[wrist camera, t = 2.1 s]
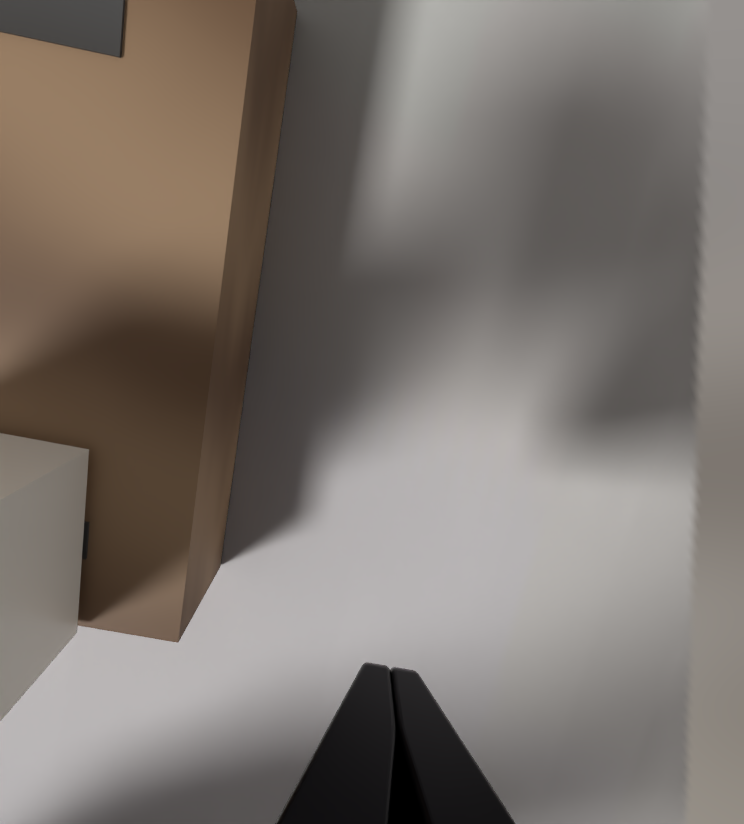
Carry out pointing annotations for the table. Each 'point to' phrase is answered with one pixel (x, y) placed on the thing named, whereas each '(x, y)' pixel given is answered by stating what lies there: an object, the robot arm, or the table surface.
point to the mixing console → (138, 270)
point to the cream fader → (38, 557)
